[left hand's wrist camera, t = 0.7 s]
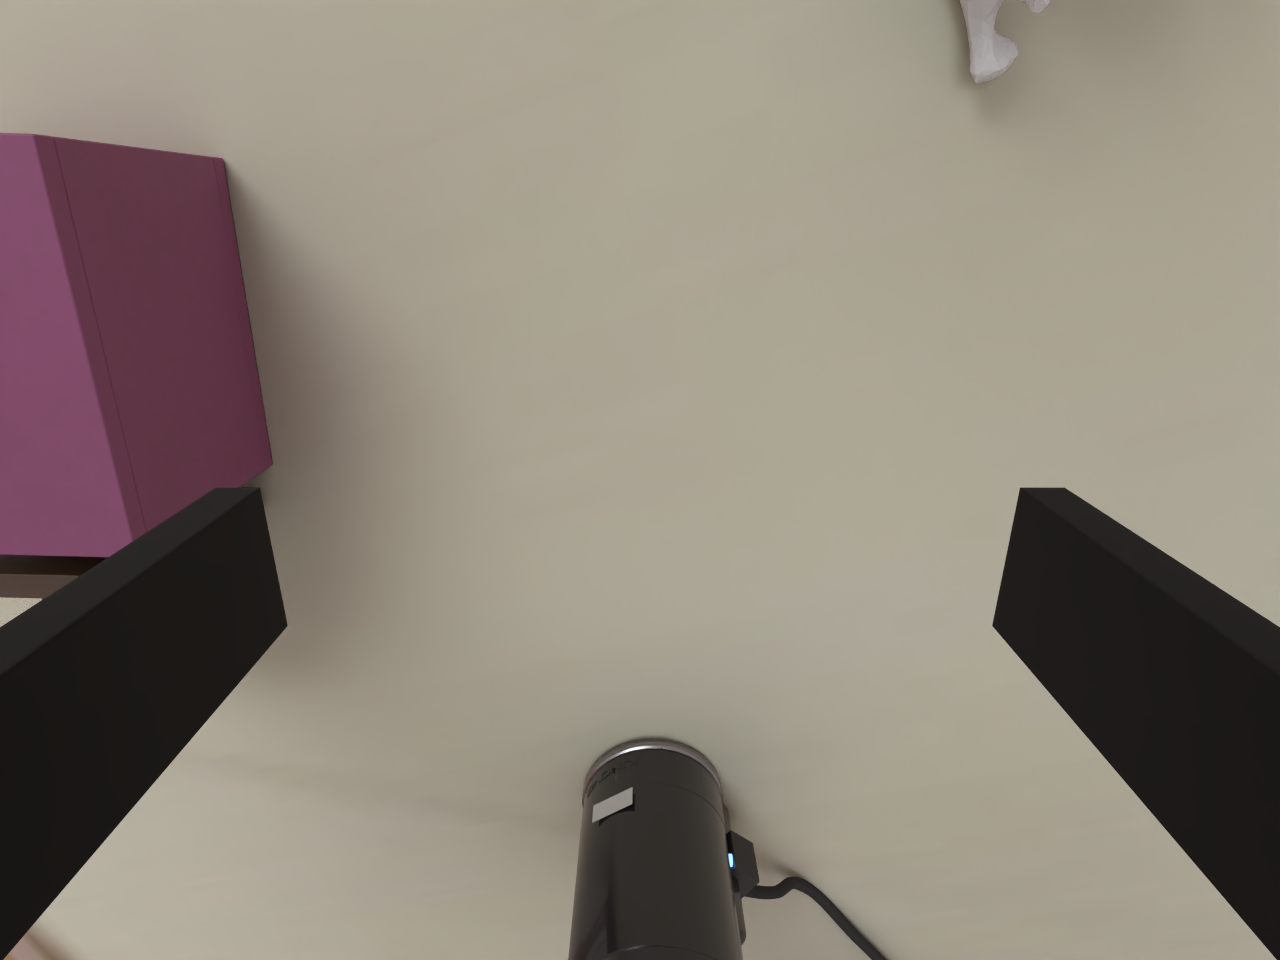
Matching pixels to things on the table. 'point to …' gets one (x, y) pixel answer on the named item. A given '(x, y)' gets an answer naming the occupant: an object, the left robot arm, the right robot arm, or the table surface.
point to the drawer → (40, 573)
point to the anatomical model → (990, 38)
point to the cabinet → (118, 344)
